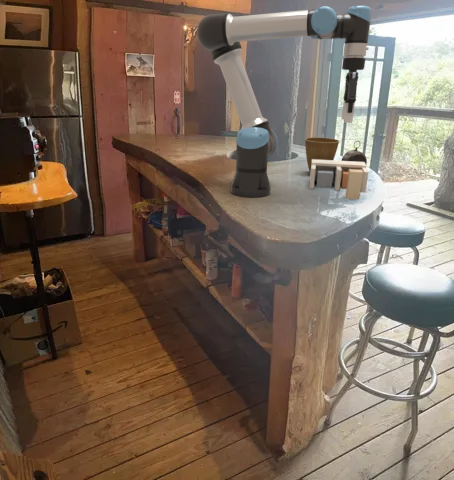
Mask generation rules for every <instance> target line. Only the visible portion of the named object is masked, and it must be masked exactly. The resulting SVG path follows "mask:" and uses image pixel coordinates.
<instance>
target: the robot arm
mask: <svg viewBox="0 0 454 480" xmlns="http://www.w3.org/2000/svg"><path fill="white" fill-rule="evenodd" d="M371 18H372V9H371V7H370V6H367V5H353V6H350V7H349V8H348V11H347V13H337V12H336V11H335V10H334V8H332V7H330V6H326V5H324V6H320V7H318V8H313V9H303V10H293V11H292V10H291V11H281V12H271V13H261V14H260V13H259V14H252V15H242V16H241V15H240V16H233V15H232V13H224V14H223V13H222V14H214V13H213V14H208V15H205V16H204V17H202V18H201V20H200V21H199V23H198V25H197V27H196V38H197V40H198V42H199V44H200V46H201V47H202V48H204V50H207V51H209V52H210V55H211V58H212V60H213V63H214V64H216V65H218V66H219V67H220V69H221V70H220V71H221V72H222V73H221V74H222V76H223V79H224V81H225V83H226V86H227V89H228V91H229V94H230V96H231V98H232V102H233V105H234V107H235V110H236V112H237V113H236V114H237V116H238V118H239V121H240V123H241V128H240V130H238V131H237V133H236V134H237V135H236V139H235V142H236V156H235V157H236V159H235V160H236V161H235V173H234V176H233V179H232V182H231V185H230V193H231V194H232V195H235V196H239V197H244V198H260V197H261V198H262V197H266V196H268V195H270V194H271V184H270V181H269V177H268V159H269V157H270V156H272V155H273V154H274V152H275V151H276V149H277V145H278V138H277V135H276V133H275V132H274V130H273V129H272V128H271V125H270V122H269V120H268V119H267V118H265V117H263V114H262V112H261V109H260V106H259V103H258V101H257V98H256V95H255V93H254V89H253V88H252V87H253V86H252V85H251V81H250V79H249V76H248V73H247V70H246V68H245V65H244V62H243V59H242V57H241V56H242V53H243V48H242V44H241V42H251V41H261V40H263V41H264V40H276V39H287V38H288V39H289V38H298V37H299V38H303V37H311V39H313V40H333V39H334V40H335V39H339V40H341V39H342V40H343V39H344V40H345V41H344V45H343V52H342V53H343V54H342V56H343V57H344V58H343V59H342V65H341V69H342V70H343V71H348V72H347V73H346V75H345V83H344V84H345V85H344V87H345V88H344V94H343V96H342V97H343V104H342V111H341V112H342V113H341V120H344V121H343V123H347V124H352V123H353V121H354V120H353V118H354V111H355V104H356V101H357V90H358V89H357V88H358V80H359V72H358V71H363V70H365V67H366V66H365V65H366V58H365V57H366V56H367V51H368V50H369V46H368V41H369V33H370V28H371V27H370V26H371V20H372V19H371Z"/></svg>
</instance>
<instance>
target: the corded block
mask: <svg viewBox="0 0 454 480" xmlns="http://www.w3.org/2000/svg"><path fill="white" fill-rule="evenodd" d="M362 176H363V171H362V170H355V169H349V171H343V172H342V180H341V183H340V188H341V189H344V190H345V189H346V191H345V198H346V199H349V200H351V199H352V200H360V196H361V195H360V194H361V183H362Z"/></svg>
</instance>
